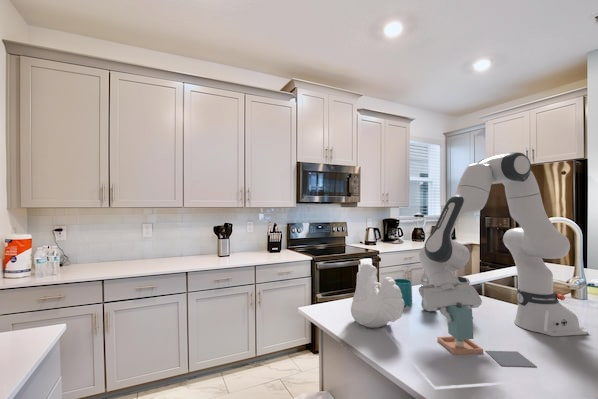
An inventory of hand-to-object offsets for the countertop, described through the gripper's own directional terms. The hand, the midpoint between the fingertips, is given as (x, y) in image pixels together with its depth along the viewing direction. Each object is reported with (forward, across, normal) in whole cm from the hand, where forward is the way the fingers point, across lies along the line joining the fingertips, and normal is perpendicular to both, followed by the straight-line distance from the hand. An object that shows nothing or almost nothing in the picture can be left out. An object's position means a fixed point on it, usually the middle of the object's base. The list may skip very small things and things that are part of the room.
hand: (461, 320), depth 101 cm
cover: (+3, 0, +4) cm, 5 cm away
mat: (+13, +10, +1) cm, 17 cm away
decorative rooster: (-8, -23, +21) cm, 32 cm away
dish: (+6, -1, +7) cm, 10 cm away
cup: (-26, -2, +40) cm, 48 cm away
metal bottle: (-18, +7, +32) cm, 38 cm away
